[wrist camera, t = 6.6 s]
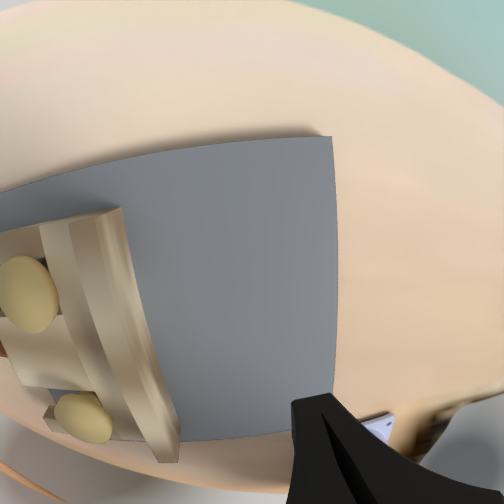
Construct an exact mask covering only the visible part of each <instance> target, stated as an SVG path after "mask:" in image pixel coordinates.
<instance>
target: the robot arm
mask: <svg viewBox="0 0 504 504" xmlns="http://www.w3.org/2000/svg"><path fill="white" fill-rule="evenodd" d="M394 421H395V415H394V414H393V413H390V414H387V415H384V416H381V417H378V418H375V419H372V420H369V421H366V422H362V423H360V422H359V421H358V420H357V419H356V418H355V417H354V416H353V415H352V414H351V413H350V412H349V411H348V410H347V409H346V408H345V407H344V406H343V405H342V404H341V403H340V402H339V401H338V400H337V399H336V398H335V397H334V395H333V394H331V393H330V392H329V393H325V394H320V395H316V396H311V397H306V398H301V399H295V400H293V401H292V402H291V425H292V438H293V444H294V451H295V456H294V464H293V472H292V478H291V483H290V488H289V493H288V498H287V502H286V504H504V496H503V495H502V494H501V492H500V491H496V490H490V489H485V488H480V487H476V486H471V485H468V484H465V483H461V482H458V481H455V480H452V479H449V478H447V477H445V476H442V475H440V474H437V473H435V472H433V471H430V470H428V469H426V468H424V467H422V466H420V465H418V464H417V463H415V462H413V461H411V460H410V459H408V458H406V457H404V456H403V455H401V454H400V453H398V452H397V451H395V450H394V449H392V448H391V447H390V446H389V444H388V442H387V441H388V438H389V435H390V432H391V430H392V427H393V424H394Z"/></svg>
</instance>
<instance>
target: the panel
mask: <svg viewBox="0 0 504 504" xmlns="http://www.w3.org/2000/svg"><path fill="white" fill-rule="evenodd" d="M20 255H25V256H29V257H32V258H34V259H37V258H43V257H46V261H47V265H48V268H49V272H50V275H51V277H52V279H53V281H54V283H55V286H56V288H57V292H58V297H59V309H58V313H57V315H56V317H55V319H54V320H53V321H52V322H51V323H50V324H49V326H48V327H47V328H46V329H45V330H43V331H42V332H40V333H28V332H25V331H23V330H21V329H19V328H18V327H16V326H15V325H14V324H13V323H12V322H11V321H10V320H9V319H8V318H7V317H6V315H5V314H4V312H3V310H2V309H1V310H0V340H1V342H2V345H3V347H4V349H5V351H6V353H7V355H8V357H9V359H10V361H11V363H12V365H13V367H14V369H15V371H16V373H17V375H18V377H19V379H20V381H21V382H22V384H23V385H25V386H33V387H41V388H51V389H62V390H75V391H94V392H96V394H97V396H98V398H99V400H100V402H101V404H102V406H103V408H104V409H105V410H106V412H107V413H108V414H109V415H110V417H111V419H112V421H113V429H112V432H111V436H110V439H115V440H131V441H146V442H147V443H148V445H149V447H150V449H151V450H152V452H153V454H154V456H155V457H156V459H157V461H158V462H159V463H178V458H179V447H180V435H181V423H180V421H179V418H178V416H177V413H176V410H175V408H174V405H173V402H172V400H171V397H170V394H169V391H168V389H167V386H166V383H165V380H164V377H163V374H162V371H161V368H160V365H159V362H158V359H157V356H156V352H155V349H154V346H153V343H152V339H151V336H150V332H149V329H148V325H147V322H146V318H145V315H144V311H143V307H142V303H141V299H140V295H139V291H138V287H137V283H136V279H135V274H134V270H133V265H132V260H131V256H130V251H129V246H128V241H127V235H126V230H125V224H124V219H123V213H122V207H117V208H111V209H106V210H101V211H95V212H90V213H85V214H80V215H75V216H70V217H66V218H61V219H56V220H52V221H47V222H43V223H39V224H34V225H30V226H26V227H22V228H18V229H14V230H10V231H6V232H2V233H0V265H2V264H4V263H5V262H7V261H9V260H10V259H12V258H14V257H16V256H20ZM54 408H55V406H51V405H49V407H48V409H47V411H46V412H45V414H44V416H43V419H44V420H45V422H46V423H47V425H48V426H49V428H50V429H51V430H52V432H58V433H64V434H69V433H68V432H67V431H65V430H64V429H63V428H62V427H61V426H60V424H59V423H58V422H57V420H56V418H55V415H54ZM70 435H71V434H70Z"/></svg>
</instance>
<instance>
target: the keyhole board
mask: <svg viewBox="0 0 504 504" xmlns="http://www.w3.org/2000/svg"><path fill="white" fill-rule="evenodd" d="M117 207H122V213H123V219H124V224H125V230H126V235H127V241H128V246H129V251H130V256H131V260H132V265H133V270H134V274H135V279H136V283H137V287H138V291H139V295H140V299H141V303H142V307H143V311H144V315H145V318H146V322H147V325H148V329H149V332H150V336H151V339H152V343H153V346H154V349H155V352H156V356H157V359H158V362H159V365H160V368H161V371H162V374H163V377H164V380H165V383H166V386H167V389H168V391H169V394H170V397H171V400H172V402H173V405H174V408H175V410H176V413H177V416H178V418H179V421H180V423H181V435H180V442H188V441H208V440H221V439H232V438H241V437H250V436H257V435H264V434H271V433H277V432H283V431H289V430H292V425H291V402H292V401H293V400H295V399H301V398H306V397H311V396H316V395H320V394H325V393H329V392H330V393H331V394H333V384H334V372H335V357H336V338H337V313H338V229H337V203H336V185H335V170H334V157H333V145H332V136H321V137H293V138H275V139H261V140H249V141H239V142H229V143H220V144H211V145H204V146H196V147H189V148H182V149H176V150H169V151H163V152H158V153H152V154H146V155H141V156H136V157H131V158H126V159H121V160H116V161H112V162H107V163H103V164H99V165H94V166H90V167H86V168H82V169H78V170H75V171H71V172H67V173H63V174H60V175H56V176H53V177H49V178H46V179H43V180H39V181H36V182H33V183H30V184H27V185H23V186H20V187H17V188H14V189H12V190H9V191H6V192H3V193H0V233H2V232H6V231H10V230H14V229H18V228H22V227H26V226H30V225H34V224H39V223H43V222H47V221H52V220H56V219H61V218H66V217H70V216H75V215H80V214H85V213H90V212H95V211H101V210H106V209H111V208H117ZM0 307H1V309H2V310H3V312H4V314H5V315H6V317H7V318H8V319H9V320H10V321H11V322H12V323H13V324H14V325H15V326H16V327H18V328H19V329H21V330H23V331H25V332H28V333H40V332H42V331H43V330H45V329H46V328H47V327H48V326H49V324H50V323H51V322H52V321H53V320H54V319H55V317H56V315H57V313H58V309H59V297H58V292H57V288H56V286H55V283H54V281H53V279H52V277H51V275H50V272H49V268H48V265H47V261H46V257H43V258H37V259H34V258H32V257H29V256H25V255H20V256H16V257H14V258H12V259H10V260H9V261H7V262H5V263H4V264H2V265H0ZM48 389H49V390H50V392H51V394H52V396H53V397H54V399H55V401H56V403H57V404H56V406H55V408H54V415H55V418H56V420H57V422H58V423H59V424H60V426H61V427H62V428H63V429H64V430H65V431H67V432H68V433H69V434H71V435H72V436H74V437H75V438H77V439H79V440H82V441H84V442H87V443H92V444H103V443H105V442H107V441H108V440H115V439H110V436H111V432H112V429H113V421H112V419H111V417H110V415H109V414H108V413H107V412H106V410H105V409H104V408H103V406H102V404H101V402H100V400H99V398H98V396H97V394H96V392H94V391H75V390H62V389H51V388H48ZM121 441H131V440H121ZM140 442H146V441H140Z"/></svg>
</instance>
